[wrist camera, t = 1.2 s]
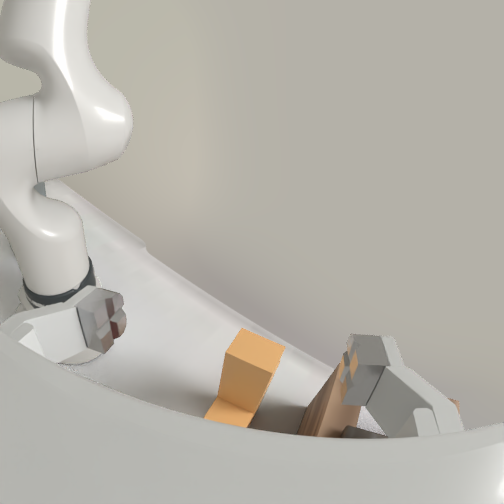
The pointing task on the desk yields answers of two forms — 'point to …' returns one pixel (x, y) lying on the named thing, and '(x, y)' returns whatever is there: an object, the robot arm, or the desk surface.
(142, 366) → the desk surface
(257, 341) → the tall tan upright block
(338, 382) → the tan rectangular frame
